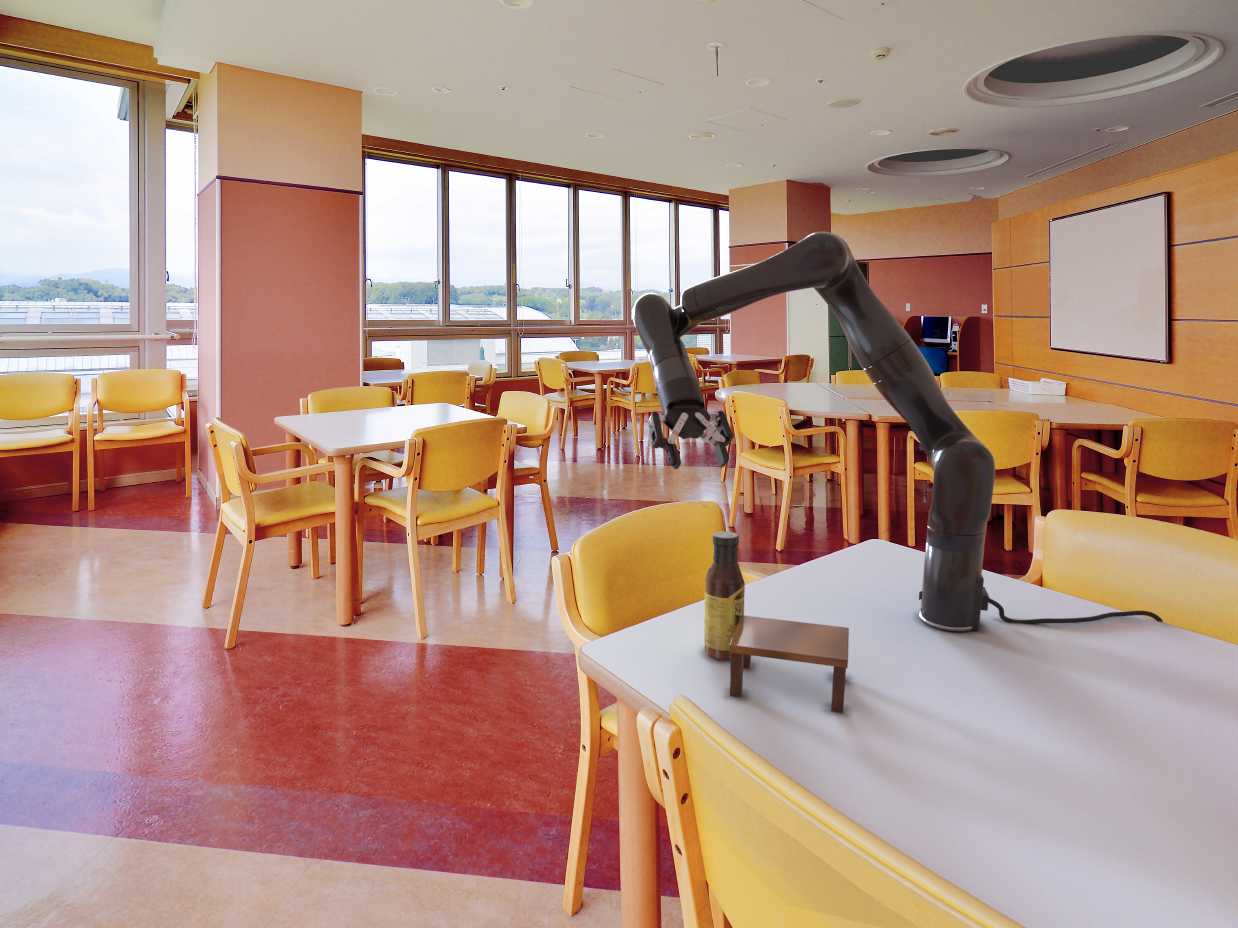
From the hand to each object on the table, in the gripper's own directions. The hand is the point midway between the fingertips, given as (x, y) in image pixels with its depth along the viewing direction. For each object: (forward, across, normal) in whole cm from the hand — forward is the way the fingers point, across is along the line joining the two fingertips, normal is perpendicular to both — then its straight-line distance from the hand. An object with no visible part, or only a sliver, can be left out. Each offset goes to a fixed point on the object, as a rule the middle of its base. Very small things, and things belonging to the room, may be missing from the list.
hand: (701, 465), depth 122 cm
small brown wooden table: (+37, +4, +2) cm, 37 cm away
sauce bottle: (+28, 0, +12) cm, 31 cm away
